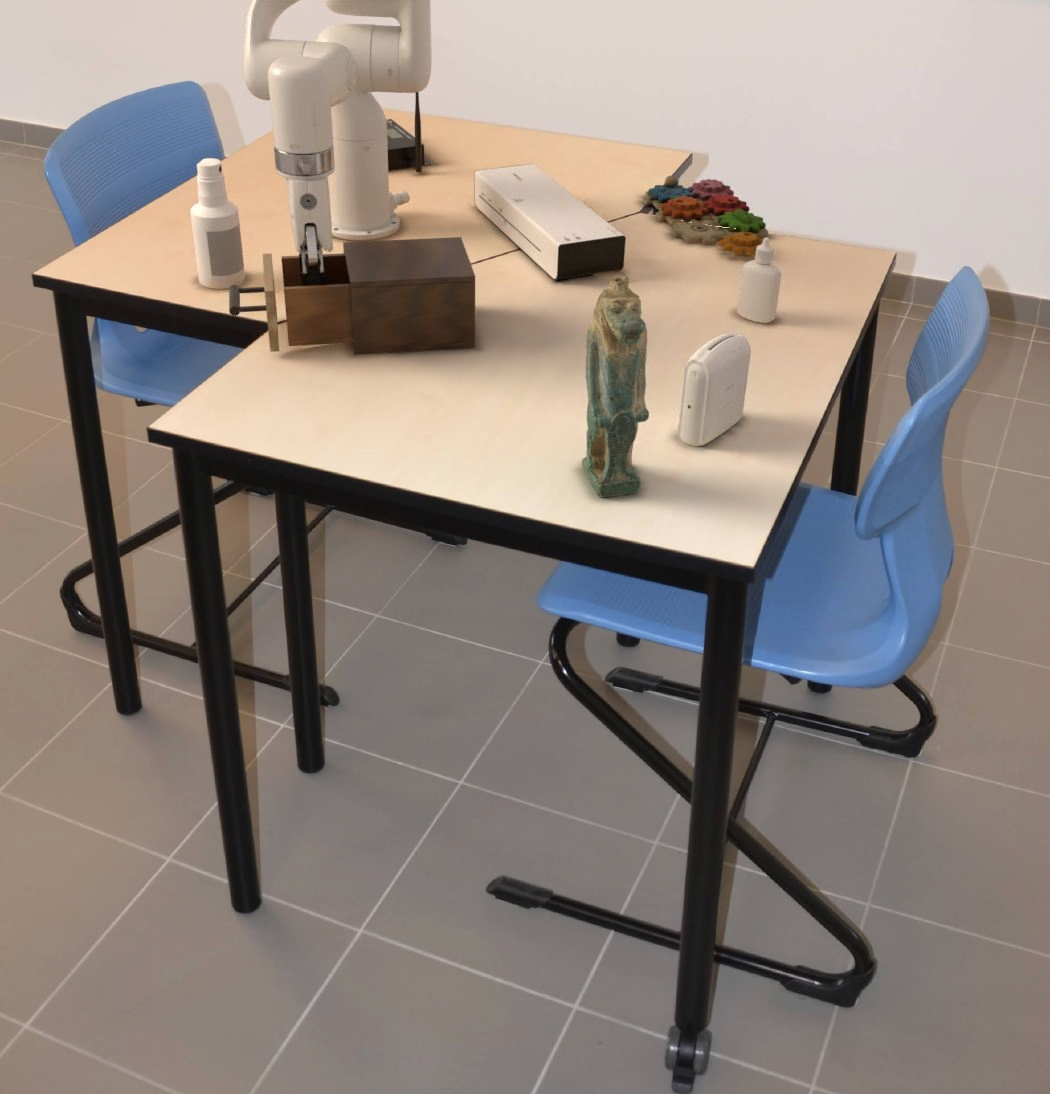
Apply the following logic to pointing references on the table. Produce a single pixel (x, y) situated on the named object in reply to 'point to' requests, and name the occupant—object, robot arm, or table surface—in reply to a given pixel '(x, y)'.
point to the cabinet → (410, 295)
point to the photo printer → (714, 389)
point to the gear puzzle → (707, 215)
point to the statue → (615, 389)
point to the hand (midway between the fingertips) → (313, 288)
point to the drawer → (304, 303)
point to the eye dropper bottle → (759, 286)
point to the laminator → (548, 222)
